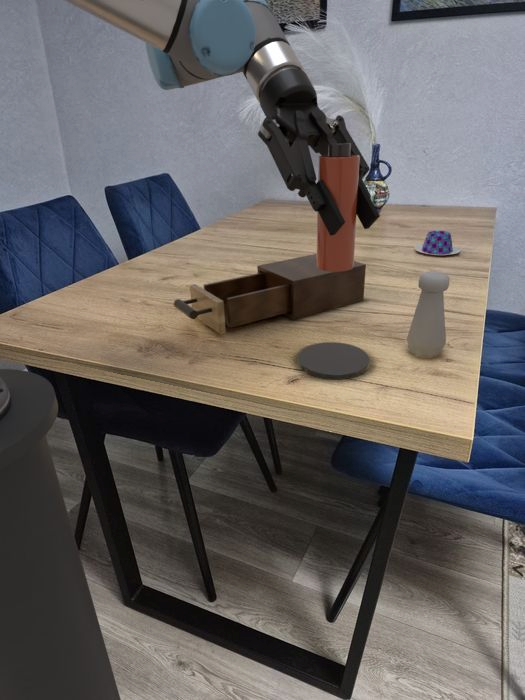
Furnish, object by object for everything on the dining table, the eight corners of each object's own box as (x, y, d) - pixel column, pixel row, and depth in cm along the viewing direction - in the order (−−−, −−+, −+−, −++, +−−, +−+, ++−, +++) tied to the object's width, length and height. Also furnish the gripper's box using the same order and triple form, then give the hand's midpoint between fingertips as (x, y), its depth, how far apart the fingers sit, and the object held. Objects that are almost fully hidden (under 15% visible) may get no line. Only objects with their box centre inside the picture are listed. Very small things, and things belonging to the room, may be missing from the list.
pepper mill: (310, 269, 66) (312, 144, 59) (324, 259, 70) (327, 142, 63) (346, 273, 63) (353, 144, 56) (358, 263, 68) (365, 141, 60)
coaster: (285, 370, 71) (285, 365, 70) (313, 341, 79) (313, 337, 79) (356, 386, 66) (356, 381, 66) (377, 354, 75) (378, 349, 74)
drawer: (197, 340, 79) (193, 308, 77) (171, 319, 88) (167, 289, 85) (297, 313, 89) (297, 283, 86) (265, 296, 98) (264, 269, 95)
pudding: (462, 258, 122) (466, 238, 120) (414, 256, 125) (416, 236, 123) (457, 247, 133) (460, 228, 130) (413, 245, 136) (415, 227, 133)
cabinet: (293, 320, 88) (293, 281, 85) (258, 301, 98) (257, 265, 95) (363, 300, 96) (366, 264, 93) (324, 285, 106) (325, 251, 103)
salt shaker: (440, 345, 77) (452, 268, 71) (447, 362, 72) (460, 279, 66) (403, 344, 78) (412, 267, 72) (407, 359, 73) (417, 278, 67)
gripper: (321, 109, 74) (389, 232, 68) (217, 112, 65) (285, 253, 60) (345, 66, 67) (422, 199, 62) (233, 63, 59) (312, 216, 53)
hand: (355, 225), depth 61 cm, fingers closed on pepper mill, 5 cm apart
